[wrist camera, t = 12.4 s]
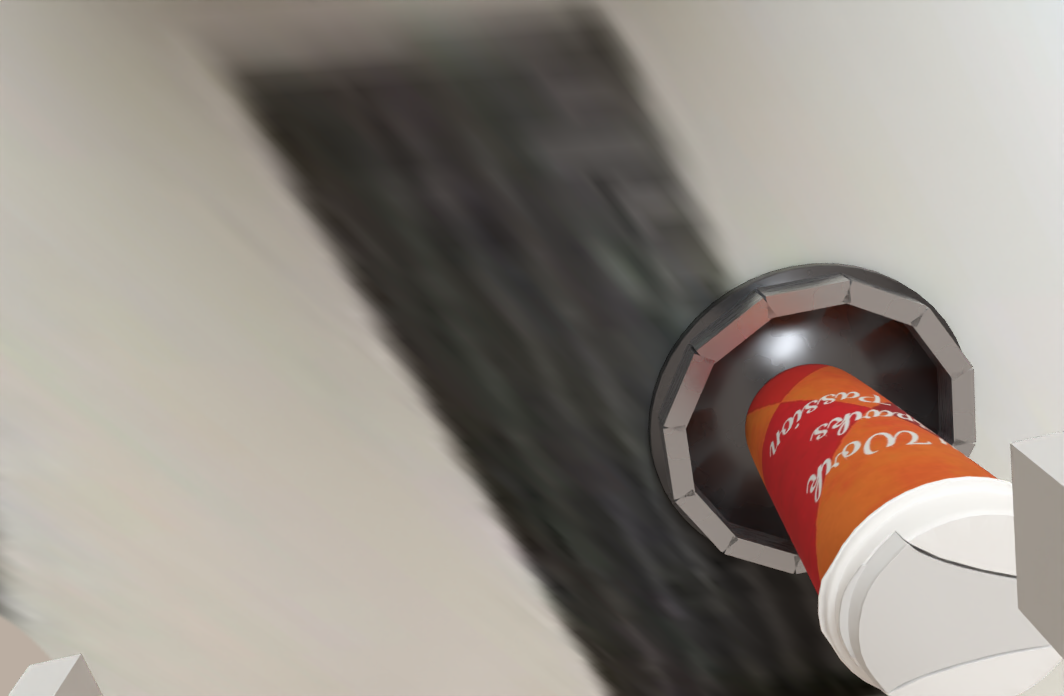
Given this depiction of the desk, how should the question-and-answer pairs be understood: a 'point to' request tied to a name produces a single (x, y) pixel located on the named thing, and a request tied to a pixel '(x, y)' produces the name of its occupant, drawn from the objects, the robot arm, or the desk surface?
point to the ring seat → (772, 347)
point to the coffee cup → (896, 539)
